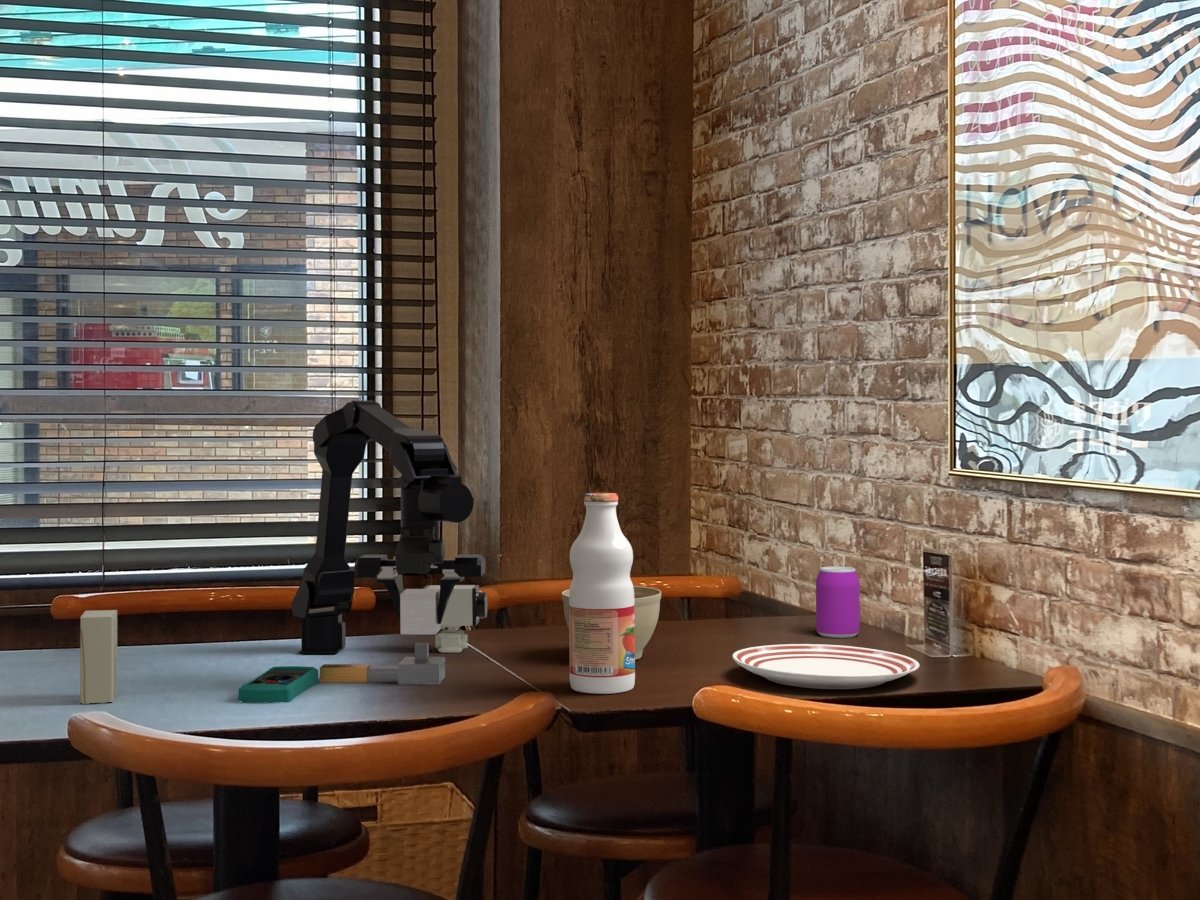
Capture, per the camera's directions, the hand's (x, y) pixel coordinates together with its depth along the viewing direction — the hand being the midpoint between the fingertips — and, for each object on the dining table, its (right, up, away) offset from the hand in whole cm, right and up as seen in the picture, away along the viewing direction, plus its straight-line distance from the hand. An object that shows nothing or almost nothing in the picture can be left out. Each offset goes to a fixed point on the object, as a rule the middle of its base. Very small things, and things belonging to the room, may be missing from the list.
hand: (421, 623), depth 192 cm
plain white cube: (0, -1, 0) cm, 1 cm away
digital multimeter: (-19, -9, -7) cm, 23 cm away
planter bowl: (+29, -8, +17) cm, 34 cm away
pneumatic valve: (+2, -8, +25) cm, 26 cm away
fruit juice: (+27, -9, -7) cm, 29 cm away
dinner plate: (+60, -9, +1) cm, 61 cm away
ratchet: (-6, -9, 0) cm, 10 cm away
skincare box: (-43, -9, -12) cm, 46 cm away
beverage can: (+69, -8, +38) cm, 79 cm away
